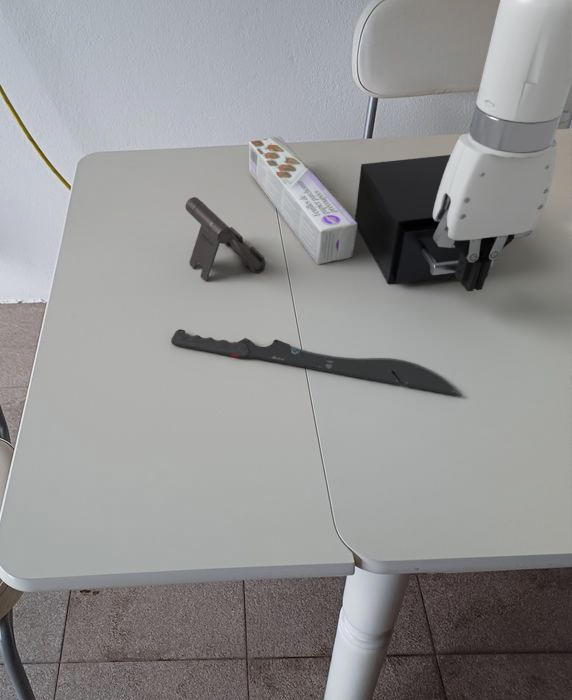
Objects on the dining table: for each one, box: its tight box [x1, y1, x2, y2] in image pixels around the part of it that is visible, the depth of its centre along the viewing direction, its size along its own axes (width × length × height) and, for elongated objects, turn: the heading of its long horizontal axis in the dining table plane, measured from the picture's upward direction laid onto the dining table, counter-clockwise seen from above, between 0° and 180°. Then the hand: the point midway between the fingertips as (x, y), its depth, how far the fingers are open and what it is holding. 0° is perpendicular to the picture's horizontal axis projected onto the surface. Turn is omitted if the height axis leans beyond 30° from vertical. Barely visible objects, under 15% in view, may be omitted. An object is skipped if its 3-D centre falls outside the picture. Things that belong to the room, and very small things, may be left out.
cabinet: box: [354, 154, 451, 285], centre depth 84 cm, size 15×13×9 cm
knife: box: [170, 328, 462, 396], centre depth 71 cm, size 32×4×1 cm, turn 72°
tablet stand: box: [185, 196, 266, 282], centre depth 83 cm, size 9×8×8 cm
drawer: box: [394, 224, 494, 284], centre depth 81 cm, size 18×11×7 cm, turn 8°
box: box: [248, 135, 358, 265], centre depth 93 cm, size 27×5×6 cm, turn 18°
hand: (468, 283), depth 73 cm, fingers closed
